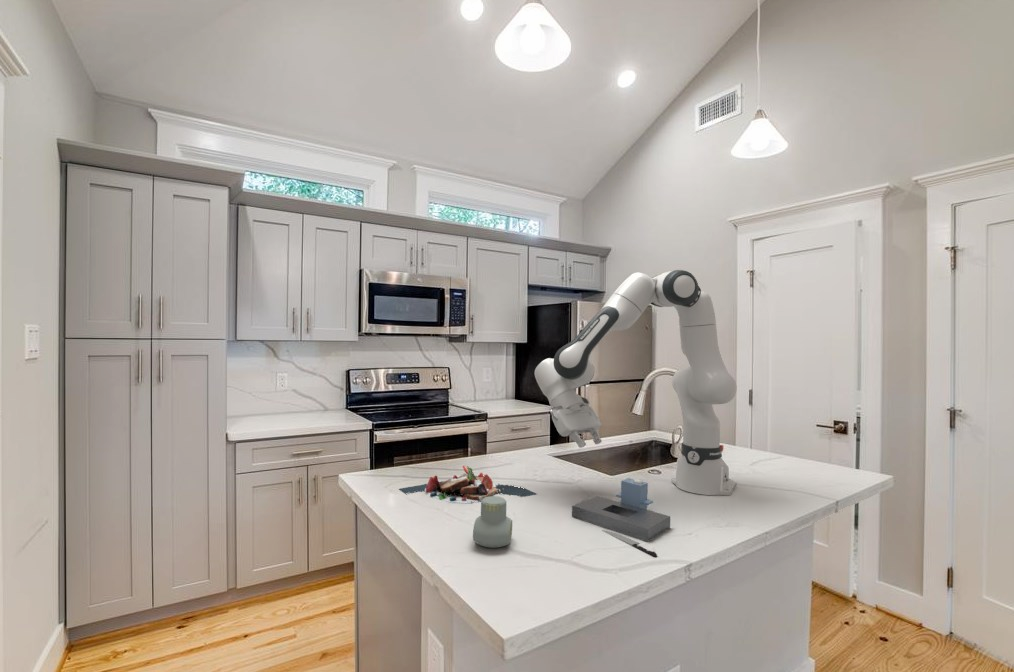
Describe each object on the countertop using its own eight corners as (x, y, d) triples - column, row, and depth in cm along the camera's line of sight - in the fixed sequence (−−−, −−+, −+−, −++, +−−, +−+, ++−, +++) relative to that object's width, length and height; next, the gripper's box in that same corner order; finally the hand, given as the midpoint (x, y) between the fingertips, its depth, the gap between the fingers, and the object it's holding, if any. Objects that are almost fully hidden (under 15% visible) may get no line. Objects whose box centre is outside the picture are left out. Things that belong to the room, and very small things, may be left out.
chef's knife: (605, 528, 127) (596, 529, 126) (605, 523, 127) (596, 525, 126) (664, 557, 111) (654, 559, 109) (664, 551, 111) (655, 553, 109)
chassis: (596, 506, 142) (596, 495, 142) (670, 528, 127) (670, 516, 127) (571, 516, 133) (572, 505, 133) (647, 541, 118) (648, 529, 118)
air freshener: (479, 532, 121) (479, 491, 121) (512, 534, 120) (513, 493, 120) (471, 552, 110) (472, 507, 110) (508, 554, 109) (509, 509, 109)
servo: (621, 504, 144) (622, 473, 144) (653, 513, 137) (654, 481, 137) (614, 507, 141) (615, 476, 141) (646, 516, 134) (647, 484, 134)
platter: (433, 519, 131) (434, 484, 131) (396, 493, 153) (396, 464, 154) (539, 498, 151) (539, 468, 151) (491, 478, 173) (492, 452, 173)
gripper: (555, 401, 144) (580, 442, 138) (590, 399, 160) (614, 436, 154) (541, 413, 147) (565, 454, 141) (577, 410, 163) (600, 446, 157)
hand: (591, 444), depth 147 cm, fingers open, 8 cm apart
